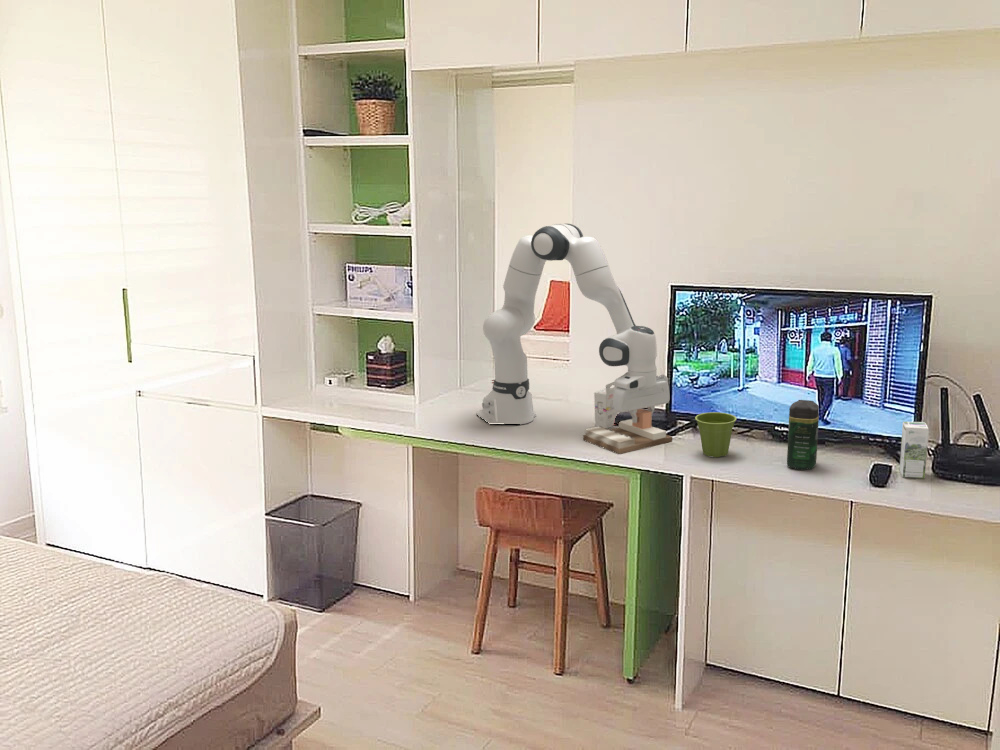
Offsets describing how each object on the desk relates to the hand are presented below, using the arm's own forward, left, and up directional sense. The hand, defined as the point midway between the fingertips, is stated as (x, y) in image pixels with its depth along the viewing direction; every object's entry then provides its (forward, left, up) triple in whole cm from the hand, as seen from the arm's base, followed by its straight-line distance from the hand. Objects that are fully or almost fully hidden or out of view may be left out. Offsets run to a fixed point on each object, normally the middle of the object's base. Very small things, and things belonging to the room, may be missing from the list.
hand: (641, 421), depth 295 cm
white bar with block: (0, 0, -4) cm, 4 cm away
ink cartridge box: (-18, 0, -6) cm, 19 cm away
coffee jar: (+48, +18, -6) cm, 52 cm away
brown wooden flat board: (0, -6, -5) cm, 8 cm away
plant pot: (+26, +6, -6) cm, 27 cm away
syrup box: (+71, +35, -6) cm, 79 cm away
